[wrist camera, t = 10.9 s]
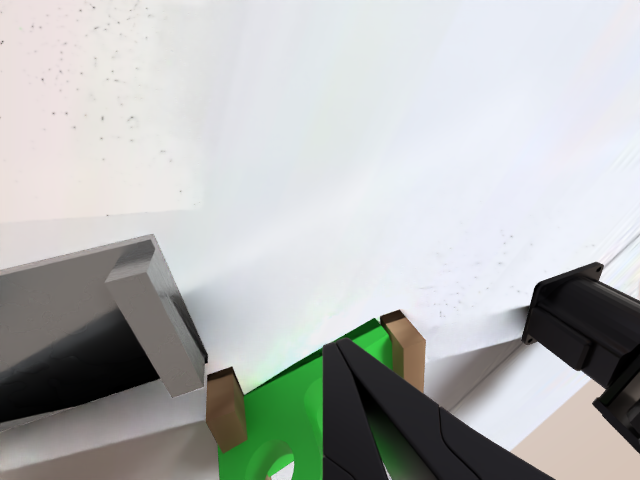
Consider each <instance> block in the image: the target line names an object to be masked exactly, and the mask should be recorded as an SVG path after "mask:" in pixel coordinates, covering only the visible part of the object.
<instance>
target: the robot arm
mask: <svg viewBox="0 0 640 480" xmlns="http://www.w3.org/2000/svg"><path fill="white" fill-rule="evenodd" d="M603 267H604V265H603V264H601V263H598V262H594V263H591V264H588V265H585V266H583V267H580V268H577V269H574V270H571V271H569V272H566V273H563V274H560V275H557V276H555V277H552V278H549V279H546V280H543V281H541V282H539V283H538V284H537V285H536V286H535V288H534V292H533V296H532V300H531V303H530V307H529V311H528V315H527V319H526V323H525V327H524V331H523V335H522V339H521V341H522V342H523V343H524V344H525V345H530V344H532V343H535V342H537V341H538V342H539V343H541V344H542V345H543V346H544V347H546V348H547V349H548V350H550V351H551V352H552V353H554V354H555V355H556V356H557V357H559V358H560V359H561V360H563V361H564V362H565V363H567V364H568V365H569V366H570V367H572V368H573V369H575V370H576V371H580V370H581V371H582V372H584V373H585V374H586V375H588V376H589V377H590V378H592V379H593V380H594V381H596V382H597V383H598V384H600V385H601V386H602V387H603V388H605V389H606V390H605V392H604V393H603V394H602V395H601V396H600V397H598V398H596V399H595V400H594V401H593V403H592V404H593V405H594V407H595V408H597V409H598V411H600V413H601V414H602V416H603V417H604V418H605V419H606V420H607V421H608V422H609V423H610V424H611V425H612V426H613V427H614V428H615V429H616V430H617V431H618V432H619V433H620V434H621V435H622V436H623V437H624V438H625V439H626V440H627V441H628V442H629V444H631V445H632V447H633V448H634V449H635V450H636V451H637V452H638V453H639V454H640V301H639V300H637V299H635V298H633V297H631V296H629V295H627V294H625V293H623V292H620V291H618V290H616V289H614V288H612V287H610V286H608V285H606V284H604V283H602V282H600V281H599V278H600V276H601V273H602V270H603ZM322 369H323V477H322V480H388V477H387V474H386V471H385V468H384V465H385V467H386V469H387V471H388V473H389V474H390V476H391V478H392V480H555V479H554V478H552V477H550V476H549V475H547V474H545V473H544V472H542V471H540V470H539V469H537V468H535V467H534V466H532V465H530V464H529V463H527V462H525V461H524V460H522V459H520V458H519V457H517V456H515V455H514V454H512V453H511V452H509V451H507V450H506V449H504V448H502V447H501V446H499V445H497V444H496V443H494V442H492V441H491V440H489V439H488V438H486V437H485V436H483V435H481V434H480V433H478V432H477V431H475V430H473V429H472V428H470V427H469V426H468V425H466V424H465V423H463V422H462V421H460V420H459V419H458V418H456V417H455V416H453V415H452V414H451V413H449V412H448V411H447V410H445V409H444V408H443V407H439V405H438V404H437V403H436V402H434V401H433V400H432V399H430V398H429V397H428V396H426V395H425V394H423V393H422V392H421V391H419V390H418V389H417V388H415V387H414V386H413V385H411V384H410V383H409V382H407V381H406V380H405V379H403V378H402V377H400V376H399V375H398V374H396V373H395V372H394V371H392V370H391V369H390V368H388V367H387V366H386V365H384V364H383V363H381V362H380V361H379V360H377V359H376V358H375V357H373V356H372V355H371V354H369V353H368V352H367V351H365V350H364V349H363V348H361V347H360V346H358V345H357V344H356V343H354V342H353V341H352V340H350V339H349V338H343V339H340V340H337V341H336V342H331V343H328V344H326V345H323V348H322ZM382 461H383V462H382ZM383 463H384V465H383Z"/></svg>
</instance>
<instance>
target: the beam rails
mask: <svg viewBox="0 0 640 480" xmlns="http://www.w3.org/2000/svg"><path fill="white" fill-rule="evenodd" d="M380 325H381V326H382V327H383V328H384V330H385V331H386V332H387V333H388V335H389V338H390V340H391V342H392V358H393V371H394V372H395V373H396V374H398V375H399V376H400V377H402V378H403V379H405V380H406V381H407V382H409V383H410V384H411V385H413V386H414V387H415V388H417V389H418V390H419V391H421V392H422V393H423V391H424V369H425V346H426V340H425V339H424V338H423V336H422V335H421V334H420V333H419V332H418V331H417V329H416V328H415V327H414V326H413V325H412V324H411V322H410V321H409V320H408V319H407V318H406V316H405V315H404V314H403V313H402V312H401V311H400V310H397V311H394V312H391V313H388V314H385V315H382V316H380ZM206 423H207V425H208V427H209V429H210V431H211V433H212V434H213V436H214V438H215V440H216V442H217V444H218V446H219V447H220V449H221V451H222V453H223V454H224V453H225V452H227V451H229V450H231V449H232V448H234V447H236V446H237V445H239V444H241V443H243V442H244V441H246V440H248V439H247V428H246V417H245V406H244V394H243V392H242V389H241V387H240V384H239V382H238V379H237V377H236V374H235V372H234V370H233V367H229V368H226V369H223V370H220V371H217V372H214V373H212V374H209V375H207V397H206ZM265 480H271V476H270V477H268V474H267V476H266V479H265Z"/></svg>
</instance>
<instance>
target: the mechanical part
mask: <svg viewBox="0 0 640 480" xmlns="http://www.w3.org/2000/svg"><path fill="white" fill-rule="evenodd" d="M343 338H349V339H350V340H352V341H353V342H354V343H356V344H357V345H358V346H360V347H361V348H363V349H364V350H365V351H367V352H368V353H369V354H371V355H372V356H373V357H375V358H376V359H377V360H379V361H380V362H381V363H383V364H384V365H386V366H387V367H388V368H390V369H391V370H392V371H393V358H392V342H391V340H390V338H389V335H388V333H387V332H386V331H385V330H384V328H383V327H382V326H381V325H380V324H379V322H378V321H377V320H376V319H375V318H373V319H371V320H370V321H368V322H366V323H364V324H363V325H361V326H359V327H357V328H356V329H354V330H352V331H350V332H349V333H347V334H345V335H344V336H342V337H340V338H338V339H337V340H340V339H343ZM337 340H335V341H333V342H336V341H337ZM244 406H245V417H246V428H247V439H248V440H246V441H244V442H243V443H241V444H239V445H237V446H236V447H234V448H232V449H231V450H229V451H227V452H225V453H224V454H223V453H222V451H221V449H220V447H219V446H218V461H219V477H220V480H265V479H266V476H267V474H268V477H270V476H272V475H273V474H275V473H276V472H278V471H279V470H281V469H282V468H284V467H285V466H287V465H288V464H290V463H291V462H293V461H294V472H293V476H292V479H291V480H322V477H323V369H322V348H321V349H319V350H317V351H316V352H314V353H312V354H310V355H309V356H307V357H305V358H303V359H302V360H300V361H298V362H296V363H295V364H293V365H291V366H290V367H288V368H287V369H285V370H284V371H282V372H280V373H279V374H277V375H276V376H274V377H272V378H271V379H269V380H268V381H266V382H265V383H263V384H261V385H260V386H258V387H257V388H255V389H253V390H252V391H250V392H249V393H247V394H246V395H244ZM217 445H218V444H217Z"/></svg>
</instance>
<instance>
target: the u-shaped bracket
mask: <svg viewBox="0 0 640 480" xmlns="http://www.w3.org/2000/svg"><path fill="white" fill-rule="evenodd" d="M206 363H208V354H207V352H206V350H205V347H204V345H203V343H202V341H201V338H200V336H199V334H198V332H197V330H196V327H195V325H194V323H193V321H192V318H191V316H190V314H189V312H188V310H187V307H186V305H185V303H184V301H183V299H182V296H181V294H180V292H179V290H178V287H177V285H176V283H175V281H174V279H173V276H172V274H171V272H170V270H169V267H168V265H167V263H166V261H165V259H164V256H163V254H162V252H161V250H160V247H159V245H158V243H157V241H156V239H155V236H154V234H151V235H146V236H142V237H138V238H134V239H130V240H125V241H121V242H117V243H113V244H109V245H104V246H100V247H96V248H92V249H87V250H83V251H79V252H75V253H71V254H66V255H62V256H58V257H54V258H50V259H45V260H41V261H37V262H33V263H29V264H24V265H20V266H16V267H12V268H8V269H3V270H0V432H1V431H4V430H7V429H10V428H13V427H16V426H19V425H22V424H25V423H28V422H31V421H34V420H37V419H40V418H43V417H46V416H49V415H52V414H55V413H58V412H61V411H64V410H67V409H70V408H73V407H76V406H79V405H82V404H85V403H88V402H92V401H95V400H98V399H101V398H104V397H107V396H110V395H113V394H116V393H119V392H122V391H125V390H128V389H131V388H134V387H137V386H140V385H143V384H146V383H149V382H152V381H155V380H158V379H161V380H162V382H163V383H164V385H165V387H166V388H167V390H168V392H169V393H170V395H171V397H172V398H173V397H176V396H179V395H182V394H185V393H188V392H191V391H194V390H196V389H199V388H202V387H204V366H205V364H206Z"/></svg>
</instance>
